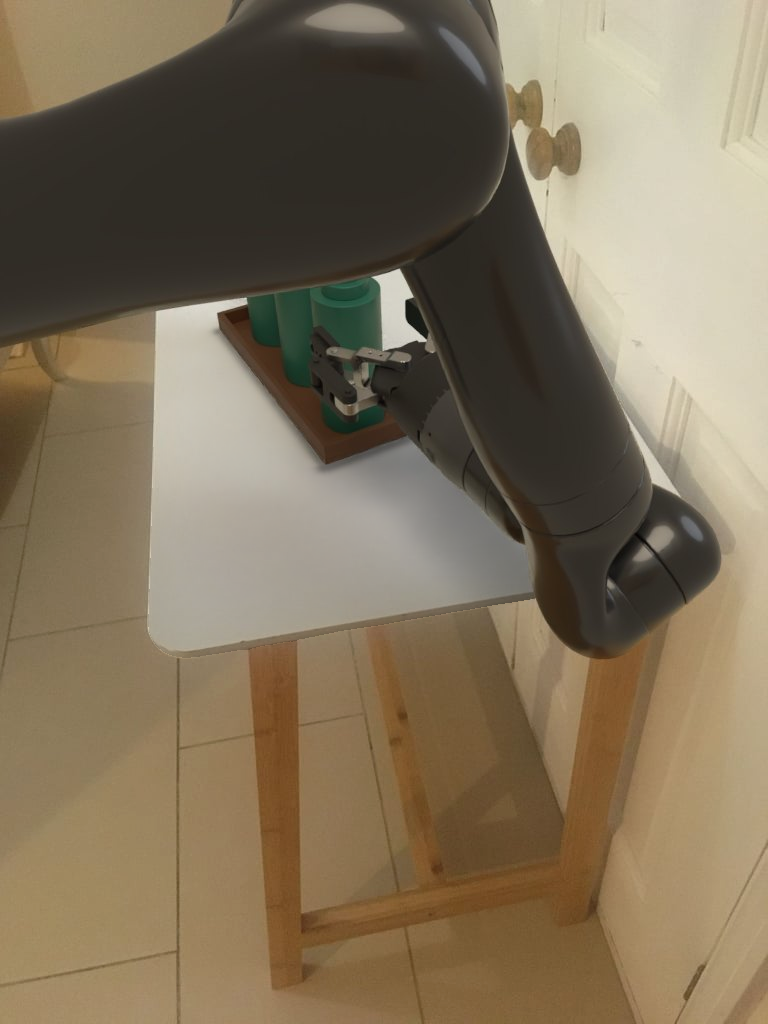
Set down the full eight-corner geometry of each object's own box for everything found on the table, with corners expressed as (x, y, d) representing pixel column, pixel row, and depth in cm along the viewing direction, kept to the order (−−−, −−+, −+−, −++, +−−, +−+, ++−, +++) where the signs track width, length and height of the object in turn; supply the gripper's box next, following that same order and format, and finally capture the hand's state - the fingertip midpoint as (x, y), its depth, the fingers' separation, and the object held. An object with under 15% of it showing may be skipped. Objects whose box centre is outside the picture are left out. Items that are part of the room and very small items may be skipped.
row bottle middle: (275, 382, 86) (250, 205, 74) (296, 351, 90) (276, 177, 78) (331, 391, 84) (316, 211, 72) (350, 358, 89) (339, 183, 76)
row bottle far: (243, 343, 91) (215, 171, 79) (264, 315, 96) (241, 148, 83) (296, 350, 90) (276, 177, 78) (315, 321, 94) (299, 152, 82)
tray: (425, 428, 80) (425, 411, 79) (325, 464, 77) (324, 446, 76) (305, 304, 98) (303, 288, 97) (219, 329, 95) (216, 312, 93)
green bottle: (313, 428, 80) (293, 244, 68) (334, 392, 84) (319, 213, 72) (374, 438, 79) (365, 252, 67) (392, 401, 83) (387, 220, 71)
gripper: (558, 349, 61) (437, 257, 71) (378, 412, 56) (278, 303, 67) (548, 435, 66) (437, 337, 76) (382, 499, 61) (288, 385, 72)
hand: (363, 322), depth 72 cm, fingers open, 8 cm apart
